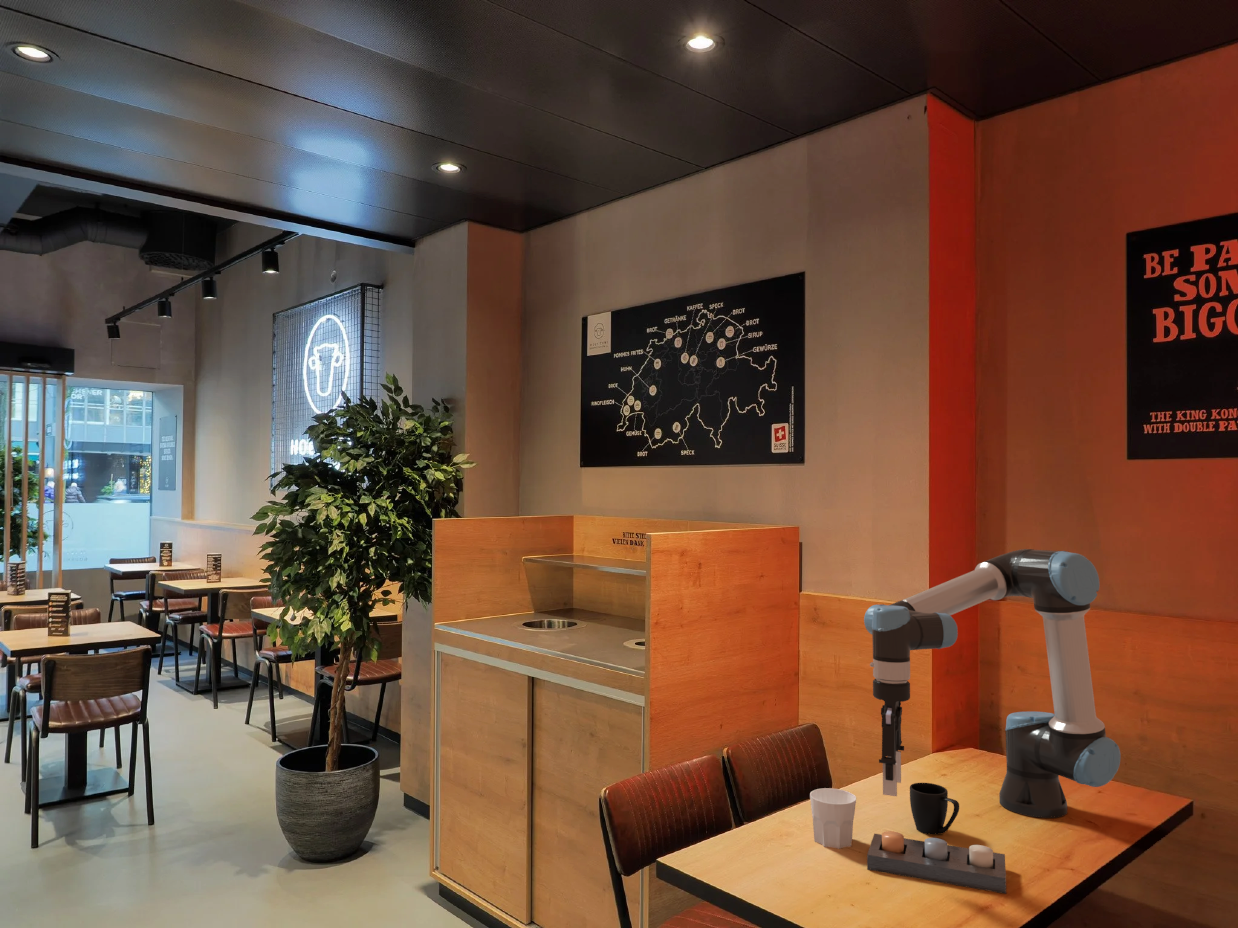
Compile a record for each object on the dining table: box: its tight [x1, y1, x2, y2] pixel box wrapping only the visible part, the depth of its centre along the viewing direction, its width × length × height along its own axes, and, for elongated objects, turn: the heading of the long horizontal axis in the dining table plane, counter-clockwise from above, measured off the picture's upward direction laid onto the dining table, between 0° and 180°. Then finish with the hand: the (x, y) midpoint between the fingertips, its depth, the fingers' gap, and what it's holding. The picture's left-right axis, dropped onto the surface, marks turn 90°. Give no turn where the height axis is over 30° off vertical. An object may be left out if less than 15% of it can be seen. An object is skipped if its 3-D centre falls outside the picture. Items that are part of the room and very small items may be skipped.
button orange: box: [881, 830, 905, 854], centre depth 177 cm, size 4×4×4 cm
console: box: [866, 833, 1007, 895], centre depth 173 cm, size 26×12×3 cm, turn 66°
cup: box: [809, 787, 857, 850], centre depth 187 cm, size 10×10×10 cm
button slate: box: [924, 837, 948, 861], centre depth 173 cm, size 4×4×4 cm
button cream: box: [968, 844, 994, 869], centre depth 170 cm, size 4×4×4 cm
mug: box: [909, 782, 960, 836], centre depth 192 cm, size 8×12×10 cm
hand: (892, 787), depth 177 cm, fingers open, 8 cm apart
